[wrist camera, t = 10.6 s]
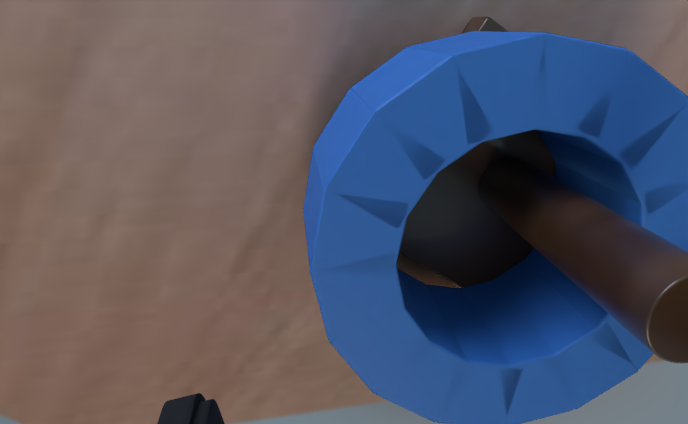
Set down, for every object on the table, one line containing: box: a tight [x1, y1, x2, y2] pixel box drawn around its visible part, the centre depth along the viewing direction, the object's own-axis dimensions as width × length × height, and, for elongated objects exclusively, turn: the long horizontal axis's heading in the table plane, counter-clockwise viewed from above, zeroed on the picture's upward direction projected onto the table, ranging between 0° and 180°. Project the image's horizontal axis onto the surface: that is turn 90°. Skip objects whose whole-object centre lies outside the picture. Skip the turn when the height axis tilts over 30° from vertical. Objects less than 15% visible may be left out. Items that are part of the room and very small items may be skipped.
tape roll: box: [303, 31, 688, 424], centre depth 16 cm, size 11×11×5 cm
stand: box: [399, 17, 688, 363], centre depth 15 cm, size 8×8×10 cm
